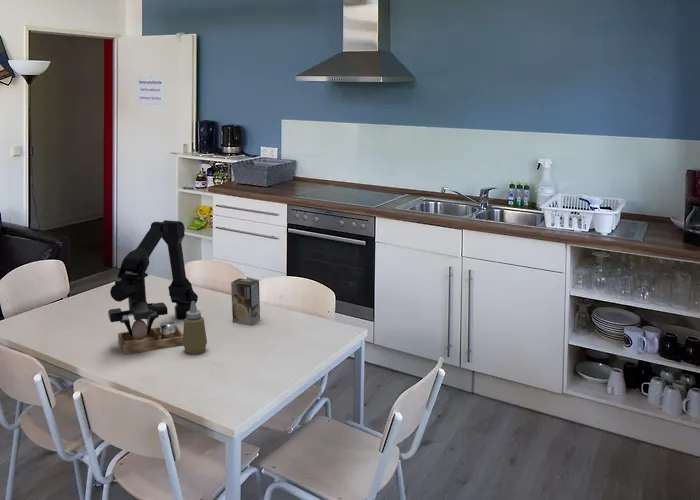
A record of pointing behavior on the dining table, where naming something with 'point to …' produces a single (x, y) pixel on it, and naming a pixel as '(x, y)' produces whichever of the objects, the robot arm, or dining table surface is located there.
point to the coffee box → (245, 301)
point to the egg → (139, 329)
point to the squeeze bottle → (194, 331)
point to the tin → (167, 330)
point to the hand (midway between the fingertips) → (139, 335)
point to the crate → (148, 341)
